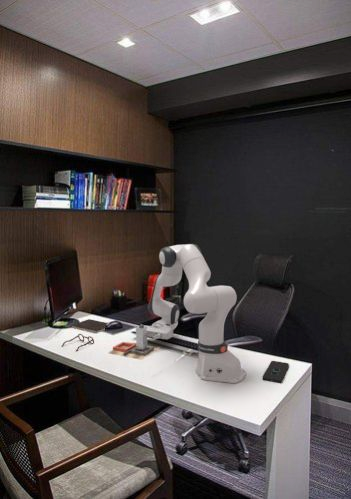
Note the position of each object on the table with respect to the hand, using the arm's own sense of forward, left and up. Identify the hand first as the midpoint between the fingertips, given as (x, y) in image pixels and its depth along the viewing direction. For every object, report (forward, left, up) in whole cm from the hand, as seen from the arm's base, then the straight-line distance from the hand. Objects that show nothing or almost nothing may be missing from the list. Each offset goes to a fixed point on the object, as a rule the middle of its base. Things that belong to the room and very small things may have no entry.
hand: (145, 336), depth 190 cm
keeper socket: (+11, +4, -7) cm, 14 cm away
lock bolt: (0, +4, -7) cm, 8 cm away
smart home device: (-66, -4, -9) cm, 67 cm away
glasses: (+40, +8, -9) cm, 42 cm away
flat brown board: (+5, +4, -8) cm, 10 cm away
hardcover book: (+55, -22, -9) cm, 60 cm away
